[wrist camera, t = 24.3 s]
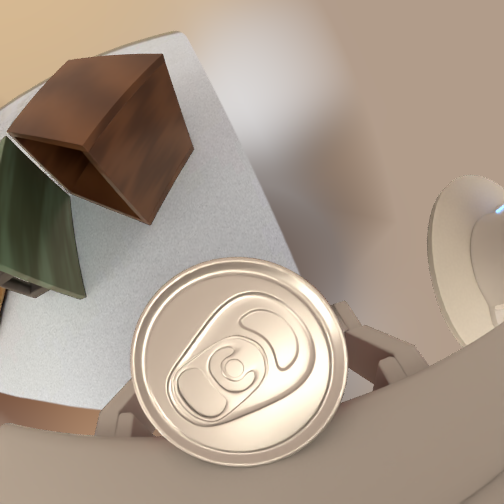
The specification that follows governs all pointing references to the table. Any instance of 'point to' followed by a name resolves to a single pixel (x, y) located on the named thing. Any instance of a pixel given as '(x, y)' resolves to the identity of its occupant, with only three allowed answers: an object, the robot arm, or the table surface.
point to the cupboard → (109, 132)
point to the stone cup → (1, 296)
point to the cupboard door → (35, 230)
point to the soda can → (239, 362)
